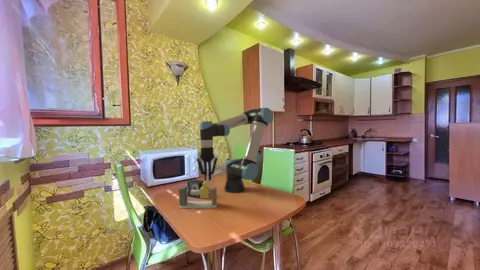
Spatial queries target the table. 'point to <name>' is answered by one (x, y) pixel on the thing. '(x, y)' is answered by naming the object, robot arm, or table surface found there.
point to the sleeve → (204, 191)
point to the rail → (196, 204)
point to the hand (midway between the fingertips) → (208, 185)
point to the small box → (194, 186)
